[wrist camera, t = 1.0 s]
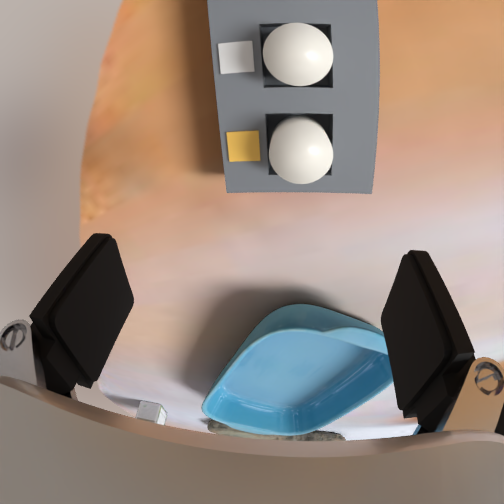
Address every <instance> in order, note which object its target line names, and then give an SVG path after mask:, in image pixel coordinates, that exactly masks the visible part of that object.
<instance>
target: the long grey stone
mask: <svg viewBox="0 0 504 504" xmlns="http://www.w3.org/2000/svg"><path fill="white" fill-rule="evenodd" d="M207 428H208V430H209V431H211V432H213V433H216V434H218V435H225V436H233V437H243V438H253V439H266V440H283V441H346V439H345V438H344V437H343V436H342V435H341V434H333V433H329V432H325V431H324V432H322V431H313V432H310V433H306V434H301V435H292V436H285V435H263V434H255V433H250V432H245V431H241V430H237V429H234V428H231V427H229V426H228V425H226V424H224V423H221V422H218V421H215V420H211V421H209V423H208V427H207Z"/></svg>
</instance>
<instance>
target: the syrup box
mask: <svg viewBox="0 0 504 504" xmlns="http://www.w3.org/2000/svg"><path fill="white" fill-rule="evenodd" d="M135 418H136V419H140V420H144V421H148V422H152V423H157V424H161V425H165V422H166V418H167V412H166V411H165V410H164V408H163V407H162V406H161V405H160V404H157V403H152V402H147V401H141V402H140V405H139V408H138V411H137V414H136V417H135Z"/></svg>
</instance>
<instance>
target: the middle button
mask: <svg viewBox="0 0 504 504" xmlns="http://www.w3.org/2000/svg"><path fill="white" fill-rule="evenodd" d="M263 59H264V62H265V65H266V67H267V69H268V70H269V72H270V73H271V74H272V75H273V76H274V77H275V78H277V79H278V80H280V81H281V82H284V83H286V84H289V85H293V86H307V85H311V84H314V83H316V82H318V81H320V80H321V79H322V78H324V77H325V76H326V74H327V73H328V72H329V70H330V68H331V66H332V63H333V49H332V46H331V44H330V42H329V40H328V38H327V37H326V36H325V35H324V34H323V33H322V32H321V31H320V30H319V29H317V28H315V27H313V26H311V25H308V24H304V23H288V24H285V25H282V26H280V27H278V28H276V29H275V30H274V31H272V32H271V33H270V35H269V36H268V37H267V39H266V41H265V43H264V47H263Z"/></svg>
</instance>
